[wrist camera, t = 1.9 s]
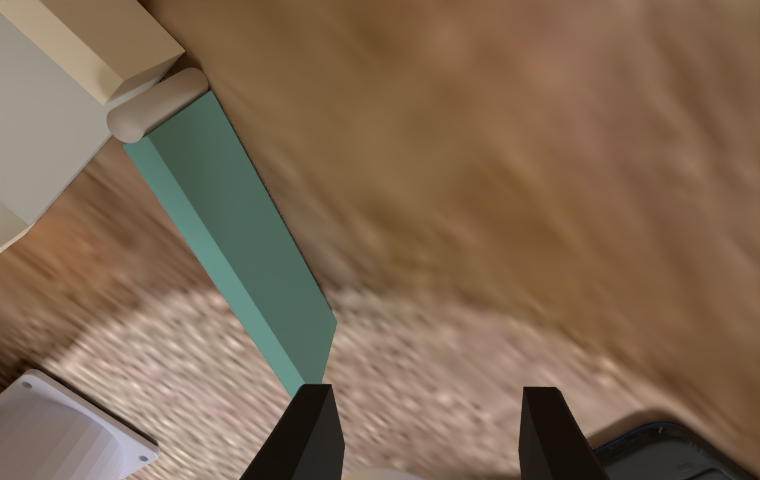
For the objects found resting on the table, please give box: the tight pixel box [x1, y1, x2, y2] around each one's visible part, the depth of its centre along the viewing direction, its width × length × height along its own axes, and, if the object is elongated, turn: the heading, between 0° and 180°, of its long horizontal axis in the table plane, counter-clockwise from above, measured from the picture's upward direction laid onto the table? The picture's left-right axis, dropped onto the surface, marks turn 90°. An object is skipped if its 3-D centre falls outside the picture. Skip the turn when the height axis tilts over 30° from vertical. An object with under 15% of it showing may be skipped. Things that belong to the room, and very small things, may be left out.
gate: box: [106, 67, 337, 399], centre depth 16 cm, size 11×1×4 cm, turn 21°
